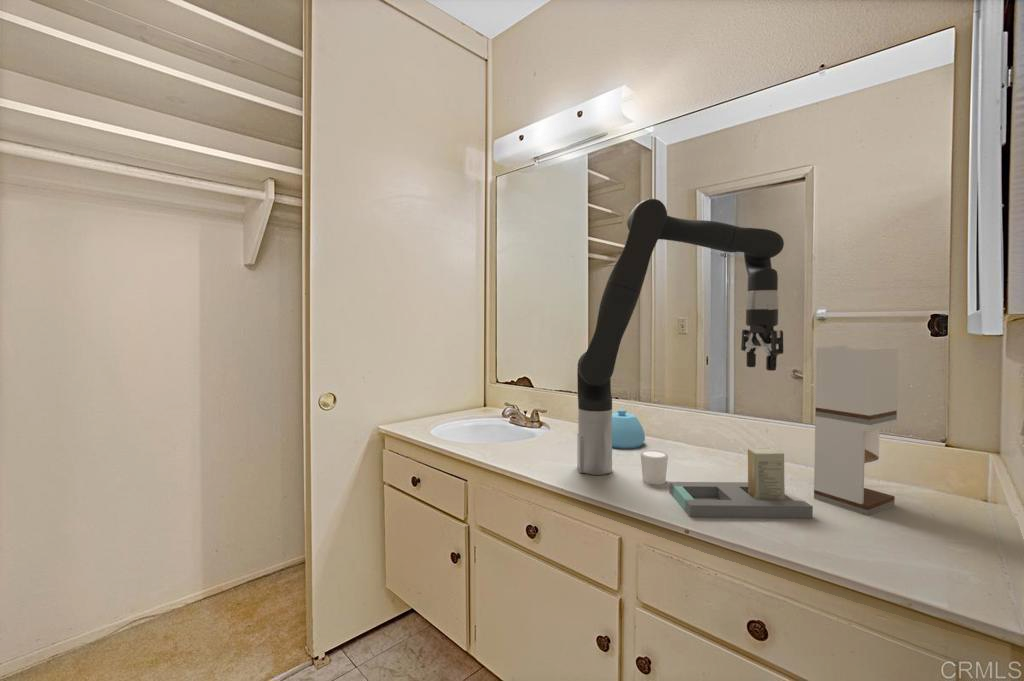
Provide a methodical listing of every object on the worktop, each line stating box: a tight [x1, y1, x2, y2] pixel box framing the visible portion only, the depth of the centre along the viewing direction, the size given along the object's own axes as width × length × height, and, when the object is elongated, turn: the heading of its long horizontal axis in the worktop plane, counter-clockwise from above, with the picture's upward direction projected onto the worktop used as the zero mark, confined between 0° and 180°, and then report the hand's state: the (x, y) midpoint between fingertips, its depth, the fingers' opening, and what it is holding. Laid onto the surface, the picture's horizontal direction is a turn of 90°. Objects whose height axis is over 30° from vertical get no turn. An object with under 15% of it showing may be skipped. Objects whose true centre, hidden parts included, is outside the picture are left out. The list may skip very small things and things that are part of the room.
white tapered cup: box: [640, 450, 669, 485], centre depth 116 cm, size 7×7×7 cm
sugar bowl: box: [612, 408, 646, 450], centre depth 152 cm, size 15×15×12 cm
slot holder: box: [668, 481, 814, 519], centre depth 101 cm, size 25×14×2 cm, turn 88°
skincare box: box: [747, 448, 785, 501], centre depth 100 cm, size 6×4×12 cm
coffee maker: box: [813, 345, 899, 517], centre depth 101 cm, size 11×11×35 cm
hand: (760, 368), depth 121 cm, fingers open, 8 cm apart
